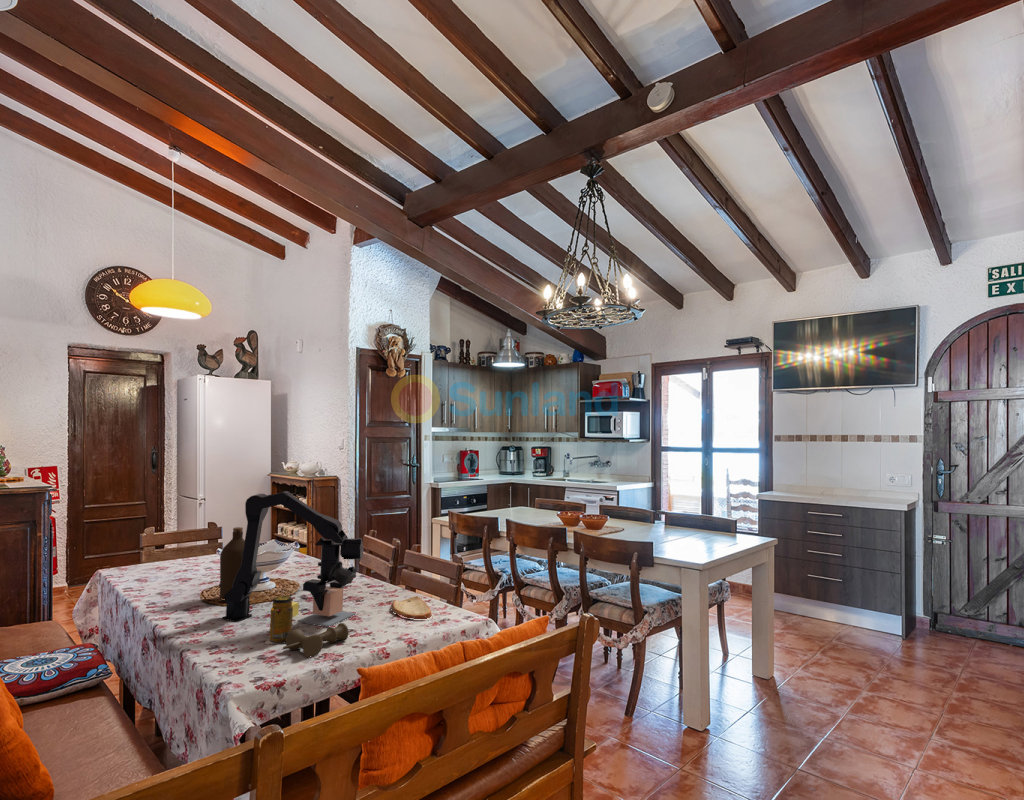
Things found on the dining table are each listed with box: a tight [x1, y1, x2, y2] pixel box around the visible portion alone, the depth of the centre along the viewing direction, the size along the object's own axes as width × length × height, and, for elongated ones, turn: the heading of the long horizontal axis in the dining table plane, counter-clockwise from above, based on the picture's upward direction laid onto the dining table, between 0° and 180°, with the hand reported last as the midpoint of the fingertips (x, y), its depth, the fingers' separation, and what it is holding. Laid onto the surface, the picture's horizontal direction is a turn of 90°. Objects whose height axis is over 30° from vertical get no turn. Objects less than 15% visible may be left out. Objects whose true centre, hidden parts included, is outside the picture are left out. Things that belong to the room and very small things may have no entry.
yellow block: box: [292, 601, 300, 618], centre depth 192 cm, size 4×4×4 cm
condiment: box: [264, 595, 294, 645], centre depth 171 cm, size 7×8×12 cm
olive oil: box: [218, 526, 250, 599], centre depth 210 cm, size 11×11×25 cm
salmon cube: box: [312, 585, 344, 616], centre depth 190 cm, size 7×7×7 cm
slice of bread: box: [390, 595, 433, 619], centre depth 200 cm, size 18×18×4 cm
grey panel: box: [297, 611, 357, 628], centre depth 190 cm, size 14×12×1 cm
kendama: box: [282, 622, 349, 658], centre depth 164 cm, size 6×10×20 cm
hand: (327, 607), depth 190 cm, fingers closed on salmon cube, 7 cm apart
